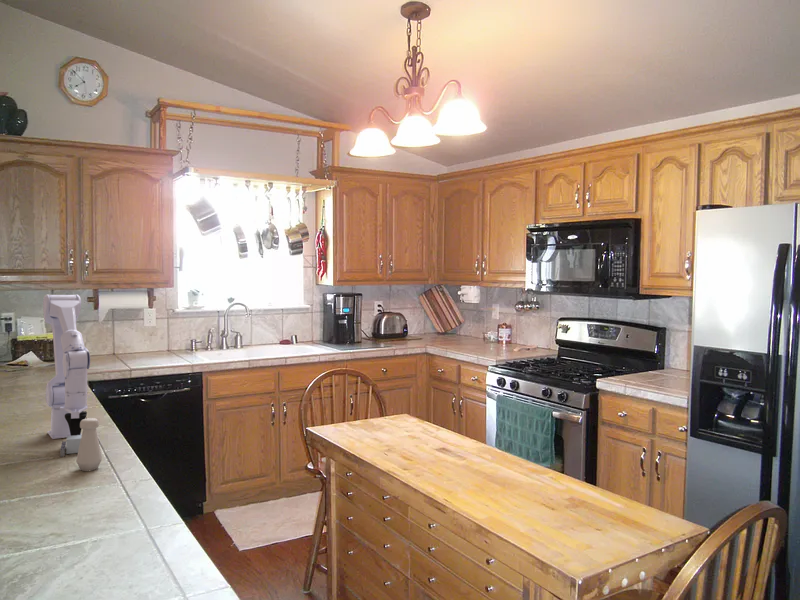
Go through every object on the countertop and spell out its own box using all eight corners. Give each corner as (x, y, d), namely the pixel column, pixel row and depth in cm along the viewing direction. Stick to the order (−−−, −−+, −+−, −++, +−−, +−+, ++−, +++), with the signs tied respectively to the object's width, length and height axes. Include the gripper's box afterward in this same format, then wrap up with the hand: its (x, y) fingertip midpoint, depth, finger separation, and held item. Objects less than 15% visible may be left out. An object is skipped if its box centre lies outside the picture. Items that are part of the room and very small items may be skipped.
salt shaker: (95, 463, 159) (96, 415, 158) (105, 468, 155) (106, 418, 155) (72, 468, 154) (72, 418, 154) (82, 473, 151) (82, 422, 150)
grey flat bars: (62, 448, 172) (62, 441, 171) (88, 446, 175) (88, 439, 174) (60, 457, 164) (60, 449, 163) (87, 454, 167) (88, 447, 166)
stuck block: (66, 449, 169) (67, 436, 169) (82, 448, 171) (83, 434, 171) (66, 453, 166) (66, 439, 166) (82, 452, 168) (82, 438, 168)
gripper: (61, 388, 179) (61, 433, 179) (58, 397, 166) (58, 445, 166) (88, 386, 182) (87, 430, 182) (87, 395, 169) (87, 442, 169)
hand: (75, 437), depth 175 cm, fingers closed
